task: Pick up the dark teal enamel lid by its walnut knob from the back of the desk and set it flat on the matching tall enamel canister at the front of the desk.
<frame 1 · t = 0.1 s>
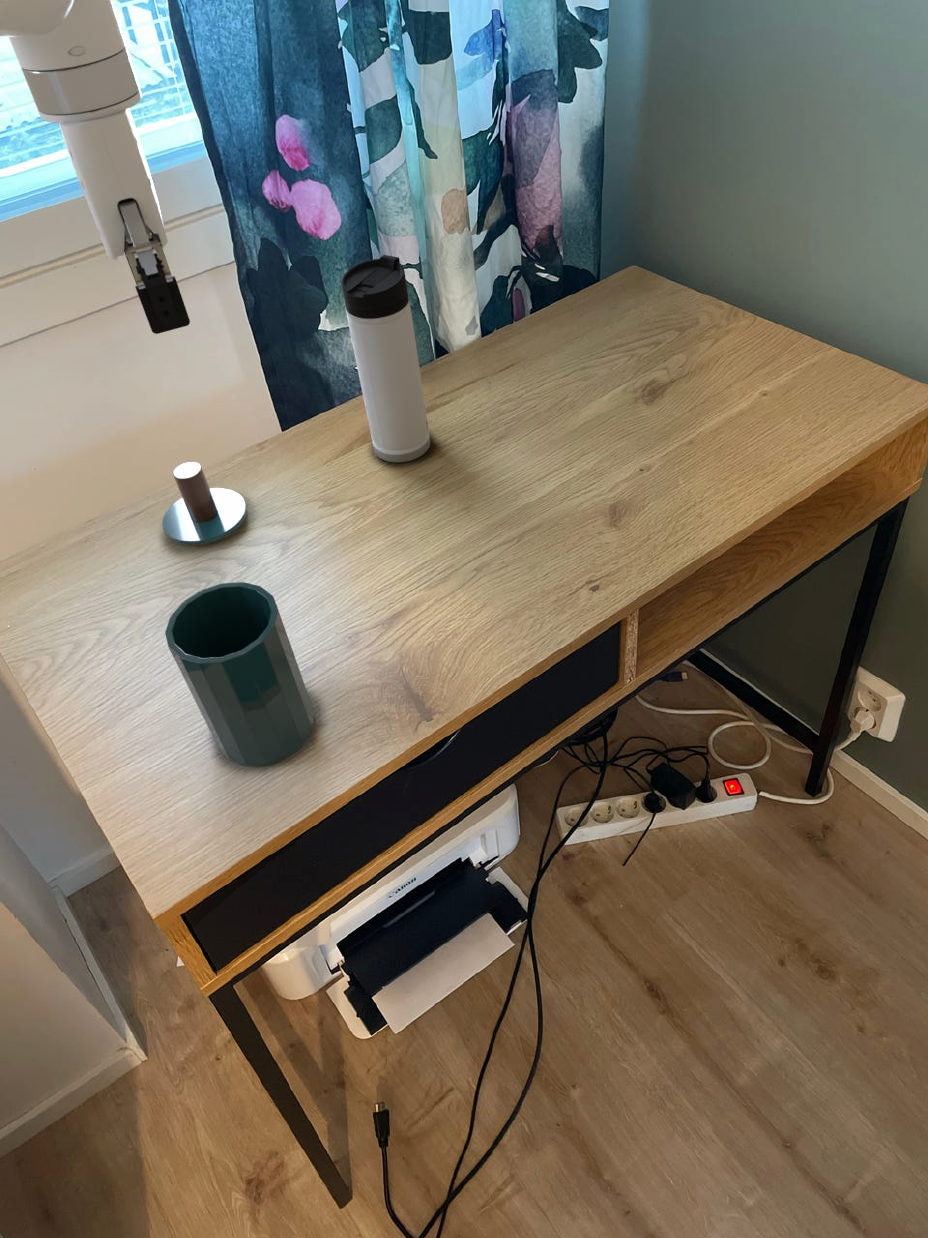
hand: (163, 304, 78), 22 cm above the table, tool pointing down, fingers open, 9 cm apart
pot: (266, 726, 73), on the table
travel mug: (403, 447, 99), on the table
lid: (205, 517, 92), point 1 cm above the table
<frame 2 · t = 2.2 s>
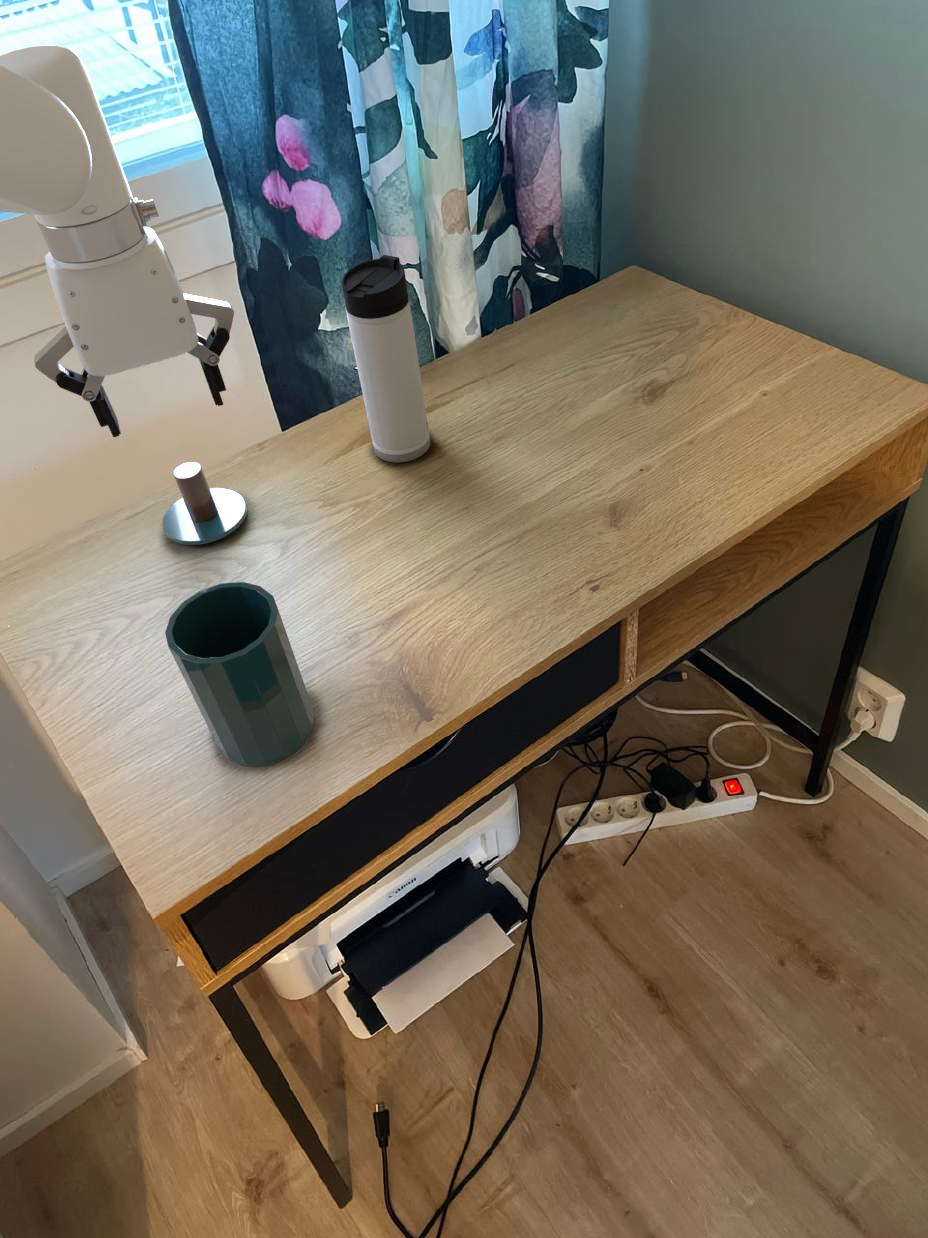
hand: (167, 413, 84), 13 cm above the table, tool pointing down, fingers open, 9 cm apart
nothing on the table moved.
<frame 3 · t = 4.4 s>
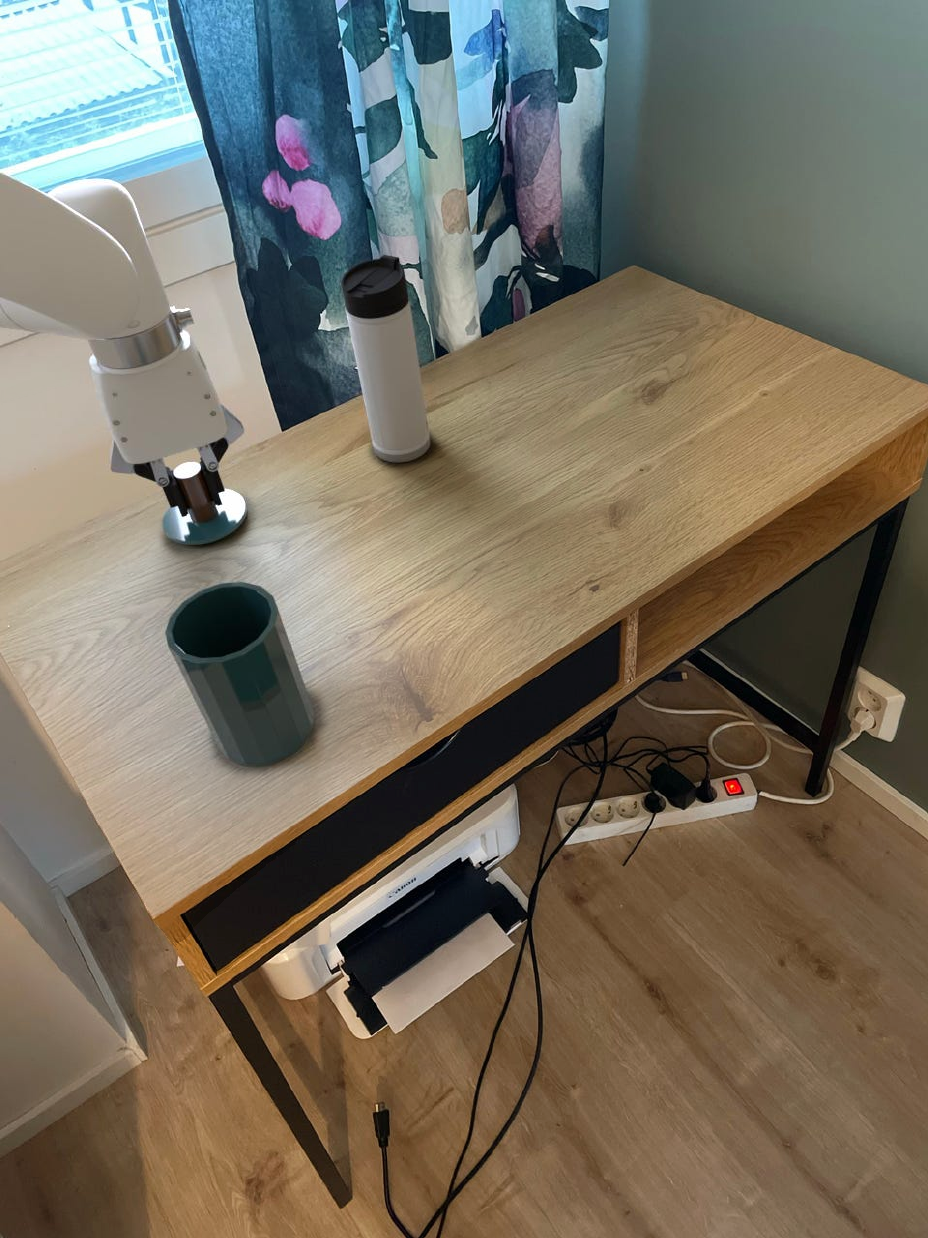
hand: (199, 502, 91), 3 cm above the table, tool pointing down, fingers closed on lid, 2 cm apart
lid: (205, 517, 92), point 1 cm above the table, touching gripper
everything else where it was.
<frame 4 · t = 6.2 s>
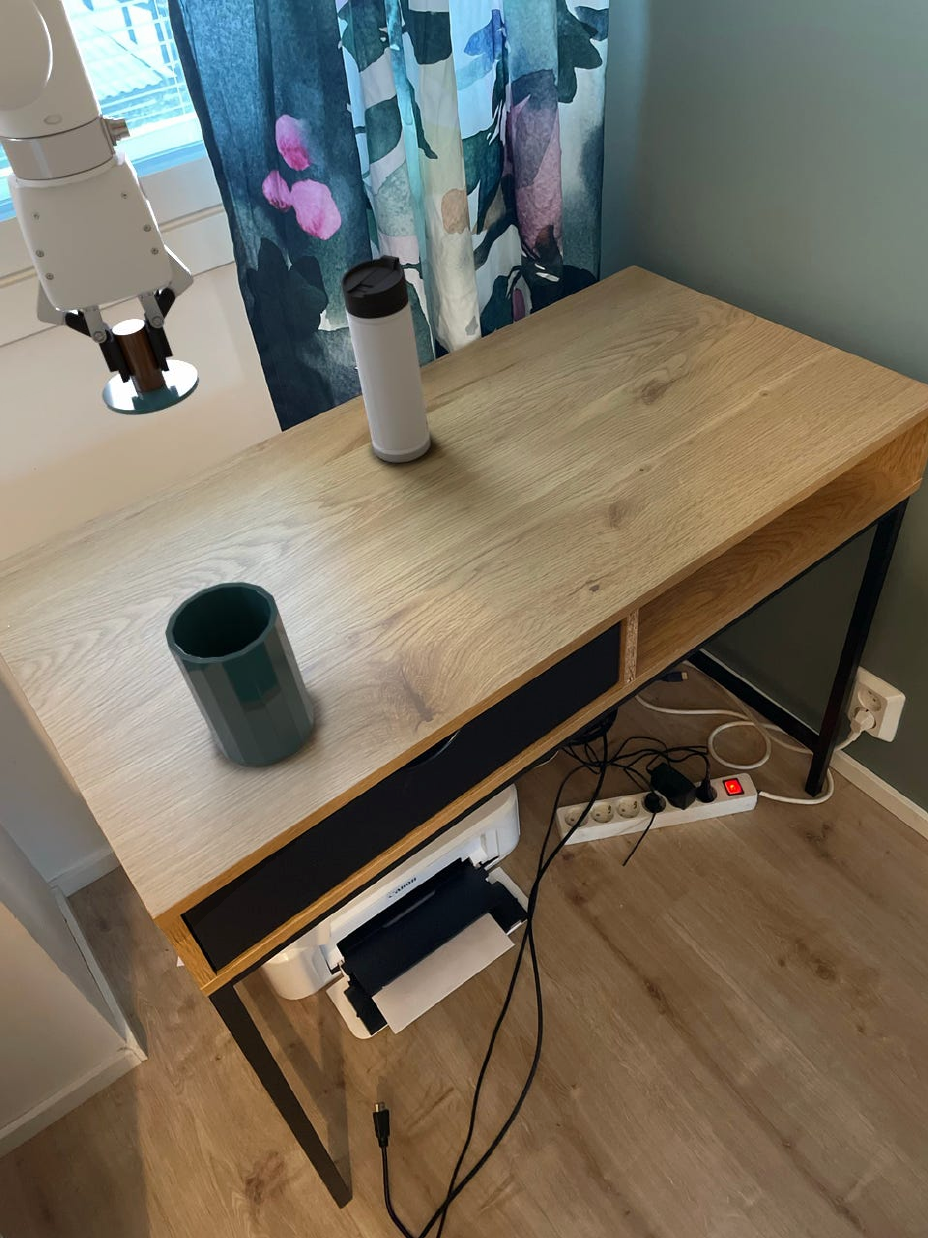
hand: (144, 368, 80), 18 cm above the table, tool pointing down, fingers closed on lid, 2 cm apart
lid: (151, 388, 81), point 16 cm above the table, touching gripper
everything else where it was.
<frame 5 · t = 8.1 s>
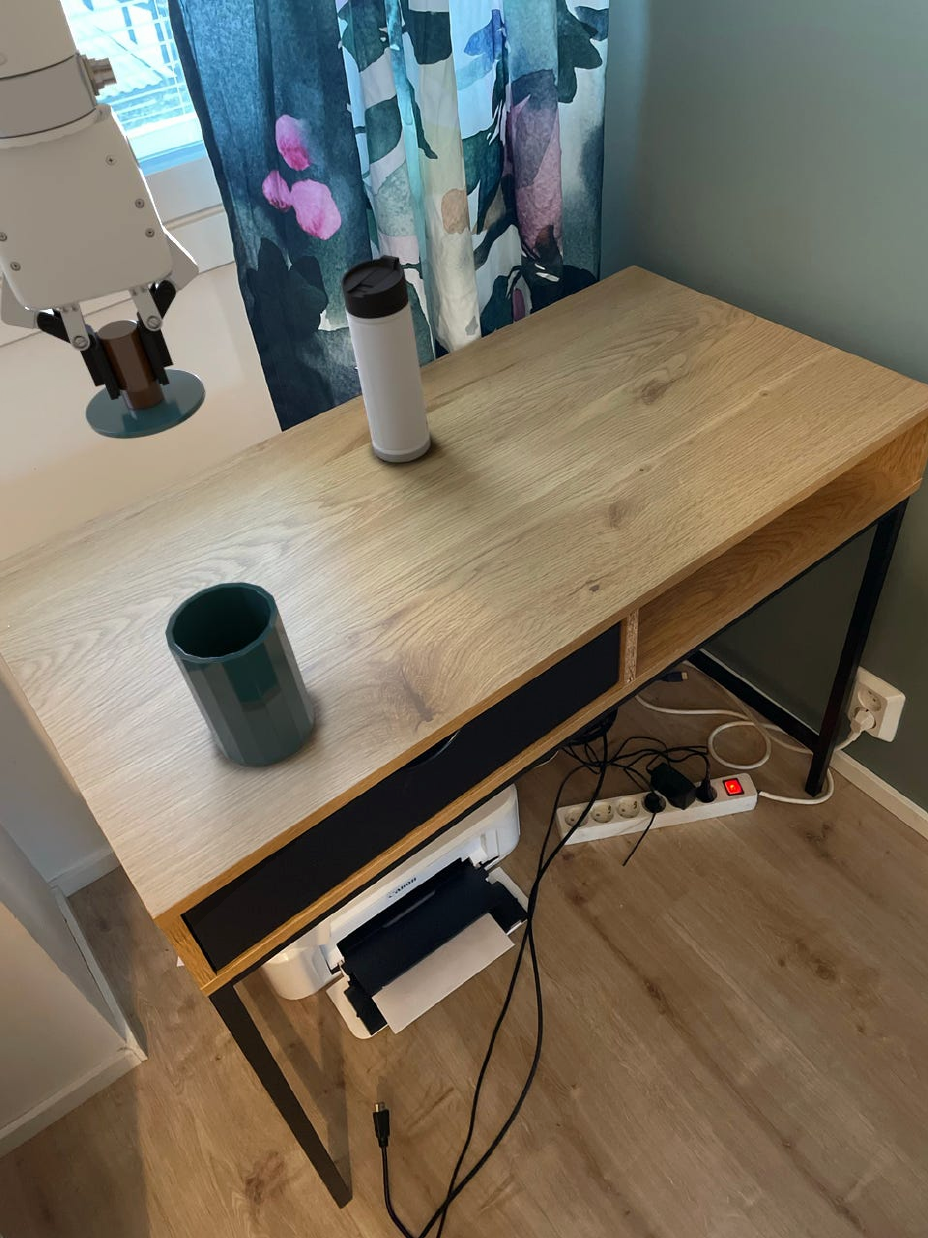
hand: (137, 381, 64), 25 cm above the table, tool pointing down, fingers closed on lid, 2 cm apart
lid: (147, 405, 66), point 23 cm above the table, touching gripper
everything else where it was.
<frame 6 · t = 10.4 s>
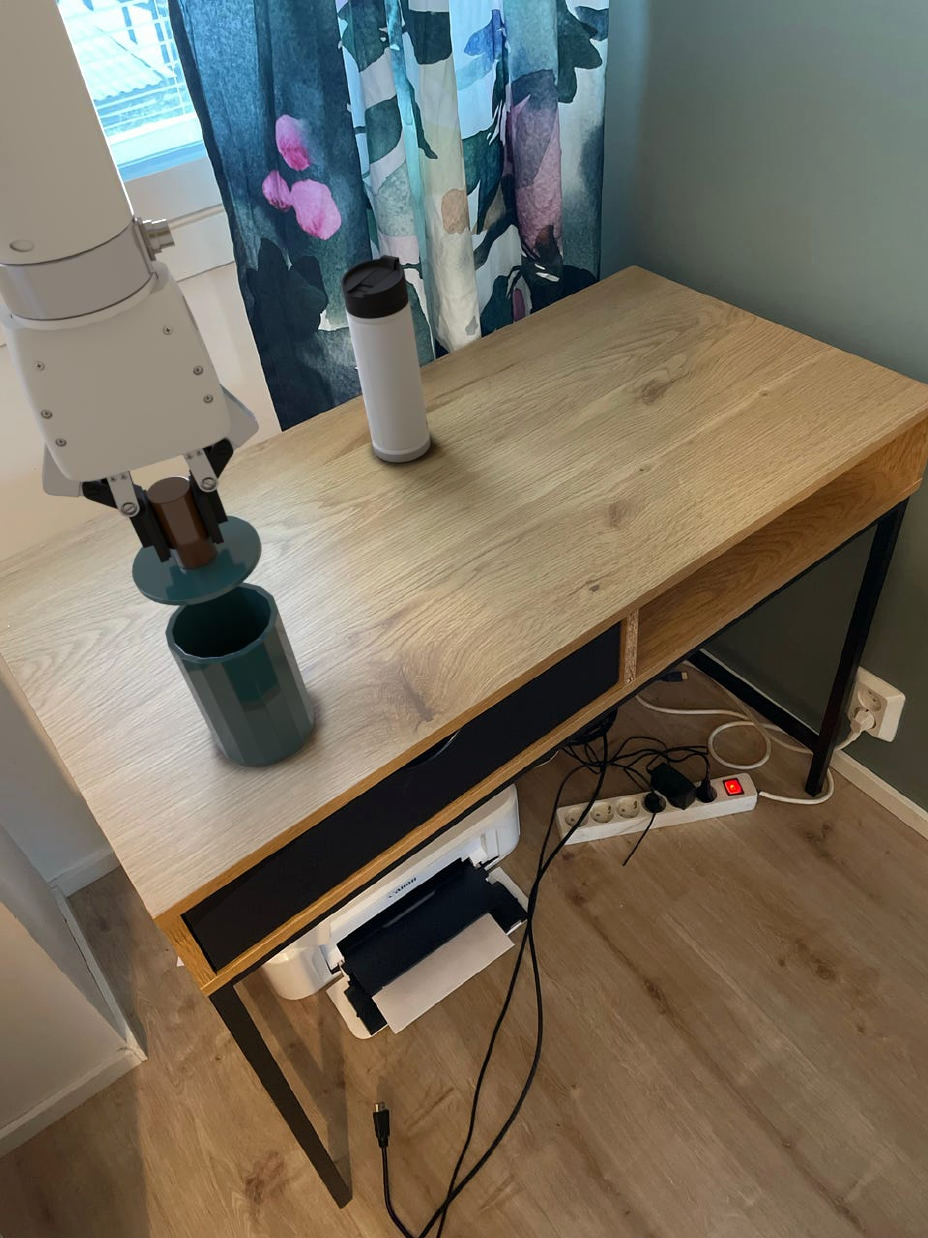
hand: (188, 538, 59), 20 cm above the table, tool pointing down, fingers closed on lid, 2 cm apart
lid: (198, 560, 60), point 18 cm above the table, touching gripper
everything else where it was.
when the fingers open (14 cm above the table, at t = 12.0 s): lid stays where it is, resting on pot.
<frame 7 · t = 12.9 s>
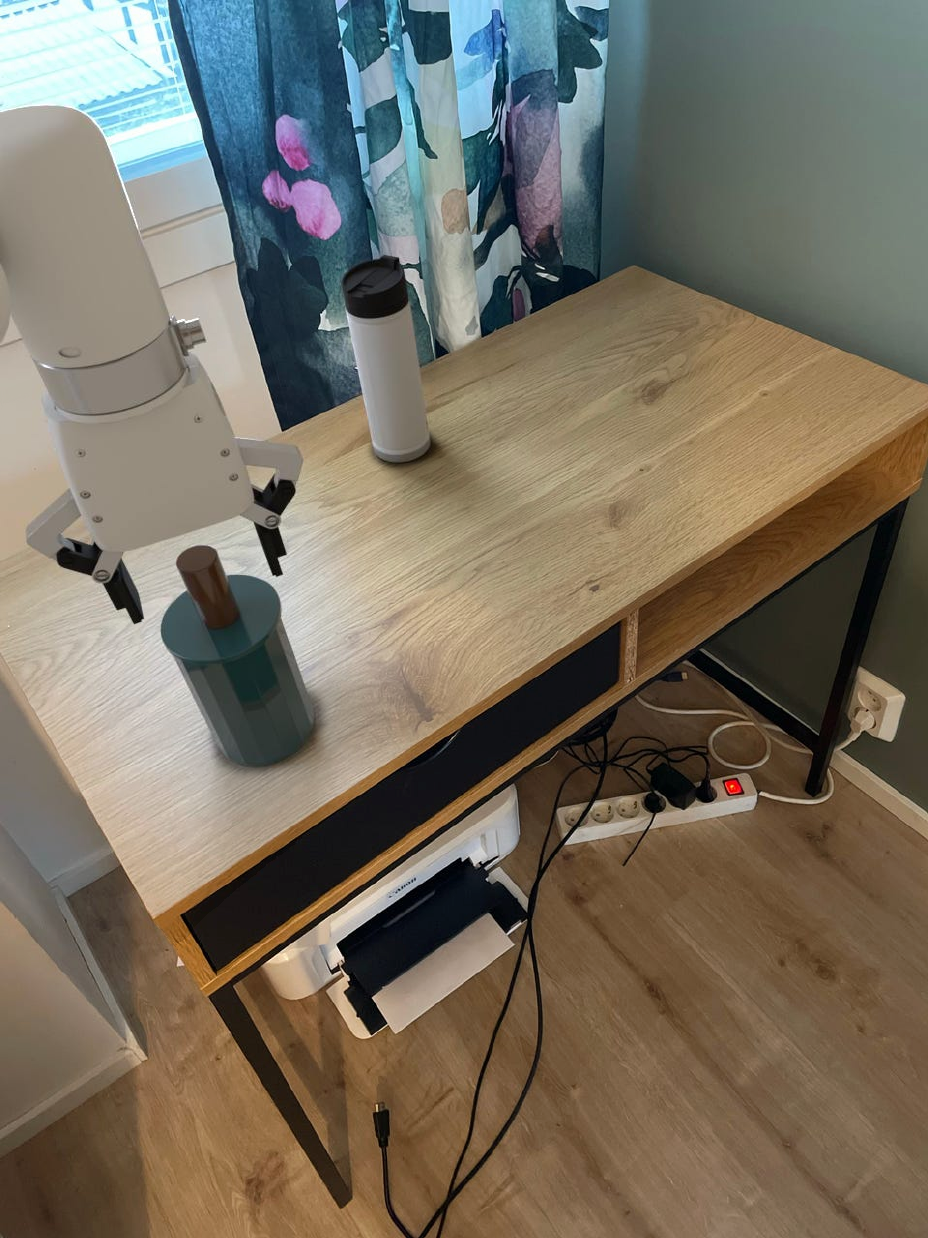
hand: (206, 586, 62), 16 cm above the table, tool pointing down, fingers open, 9 cm apart
lid: (222, 620, 64), point 12 cm above the table, touching pot
everything else where it was.
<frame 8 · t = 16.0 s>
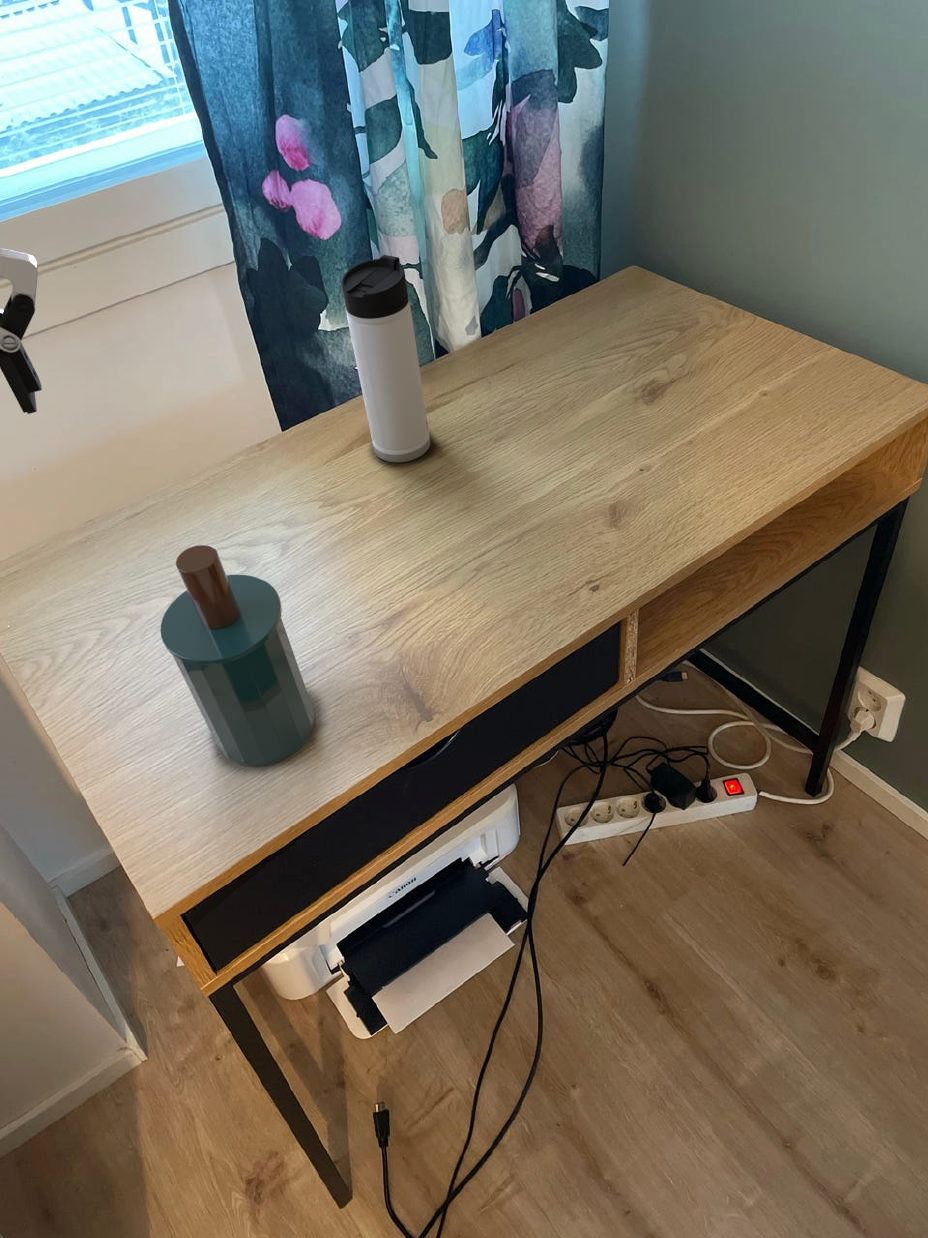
nothing on the table moved.
at the end: lid 0.1 cm off-centre on the pot, point 12.4 cm above the pot's base; lid tilted 0°; the gripper is holding nothing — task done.
